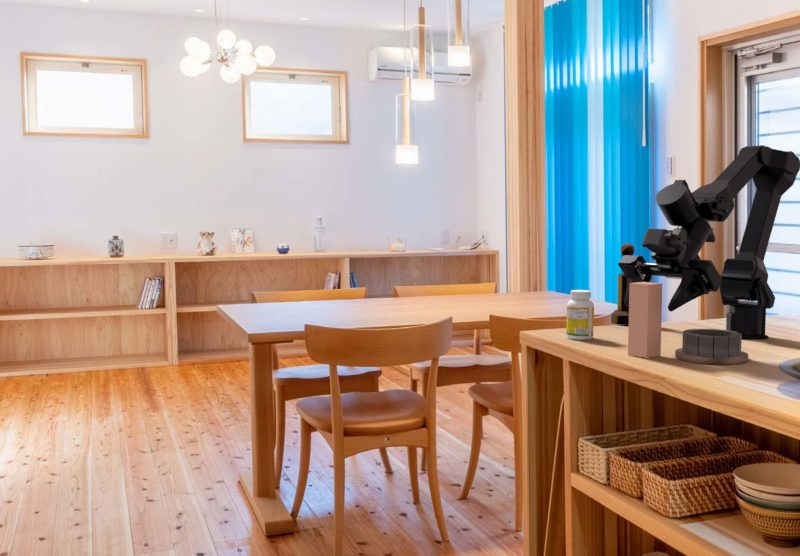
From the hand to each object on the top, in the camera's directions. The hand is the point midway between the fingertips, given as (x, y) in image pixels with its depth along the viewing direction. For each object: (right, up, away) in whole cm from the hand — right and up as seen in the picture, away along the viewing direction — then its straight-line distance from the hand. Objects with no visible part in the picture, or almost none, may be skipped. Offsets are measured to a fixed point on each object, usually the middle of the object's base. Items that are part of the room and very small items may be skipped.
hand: (647, 307), depth 148 cm
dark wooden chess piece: (+7, -5, +39) cm, 40 cm away
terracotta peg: (0, -9, +1) cm, 9 cm away
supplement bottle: (-8, -7, +20) cm, 22 cm away
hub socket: (+11, -9, -2) cm, 14 cm away
